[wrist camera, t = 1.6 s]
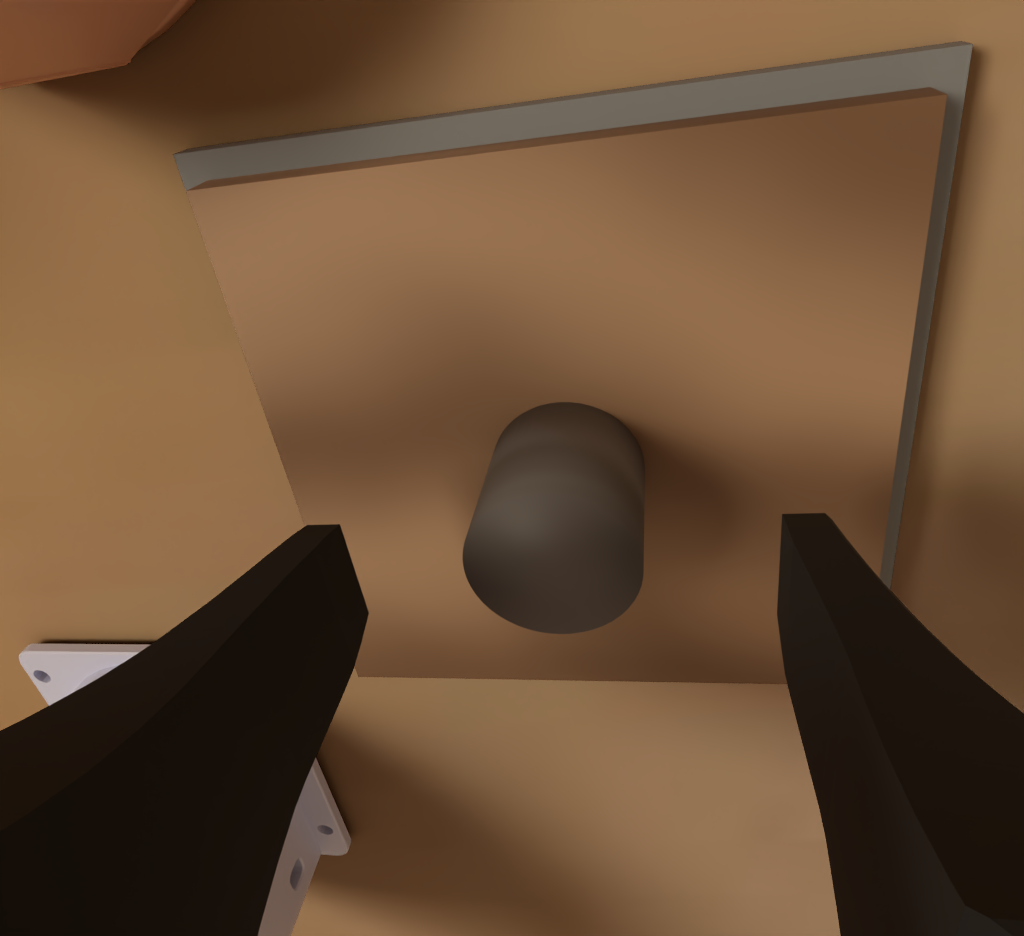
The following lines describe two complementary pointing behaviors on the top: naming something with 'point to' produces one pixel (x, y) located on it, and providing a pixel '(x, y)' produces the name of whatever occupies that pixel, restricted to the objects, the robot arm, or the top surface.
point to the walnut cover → (588, 376)
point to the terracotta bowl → (77, 35)
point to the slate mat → (649, 105)
